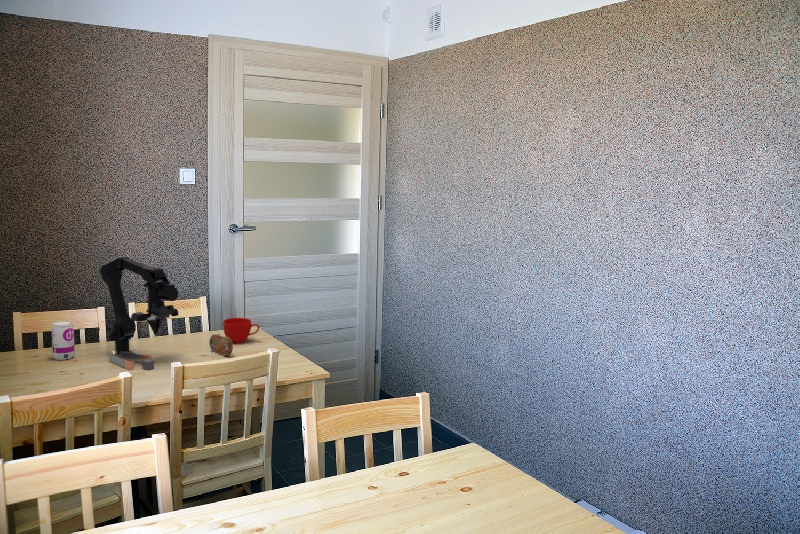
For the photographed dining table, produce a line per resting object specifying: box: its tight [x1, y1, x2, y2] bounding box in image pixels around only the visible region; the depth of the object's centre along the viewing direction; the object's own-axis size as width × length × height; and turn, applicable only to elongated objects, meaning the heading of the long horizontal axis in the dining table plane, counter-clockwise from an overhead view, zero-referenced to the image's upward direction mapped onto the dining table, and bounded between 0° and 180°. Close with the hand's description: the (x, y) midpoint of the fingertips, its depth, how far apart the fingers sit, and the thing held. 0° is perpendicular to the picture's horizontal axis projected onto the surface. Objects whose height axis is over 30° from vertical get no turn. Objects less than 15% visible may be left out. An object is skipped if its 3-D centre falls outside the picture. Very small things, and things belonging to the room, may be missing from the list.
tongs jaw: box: [119, 351, 153, 364], centre depth 282 cm, size 14×2×3 cm, turn 75°
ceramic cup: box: [222, 317, 260, 344], centre depth 319 cm, size 13×17×10 cm
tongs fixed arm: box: [109, 349, 135, 371], centre depth 278 cm, size 18×3×4 cm, turn 50°
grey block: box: [141, 359, 155, 371], centre depth 273 cm, size 4×3×3 cm
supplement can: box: [51, 320, 76, 361], centre depth 283 cm, size 8×8×15 cm
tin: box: [209, 333, 234, 357], centre depth 298 cm, size 15×3×8 cm, turn 47°
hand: (155, 334), depth 285 cm, fingers closed
